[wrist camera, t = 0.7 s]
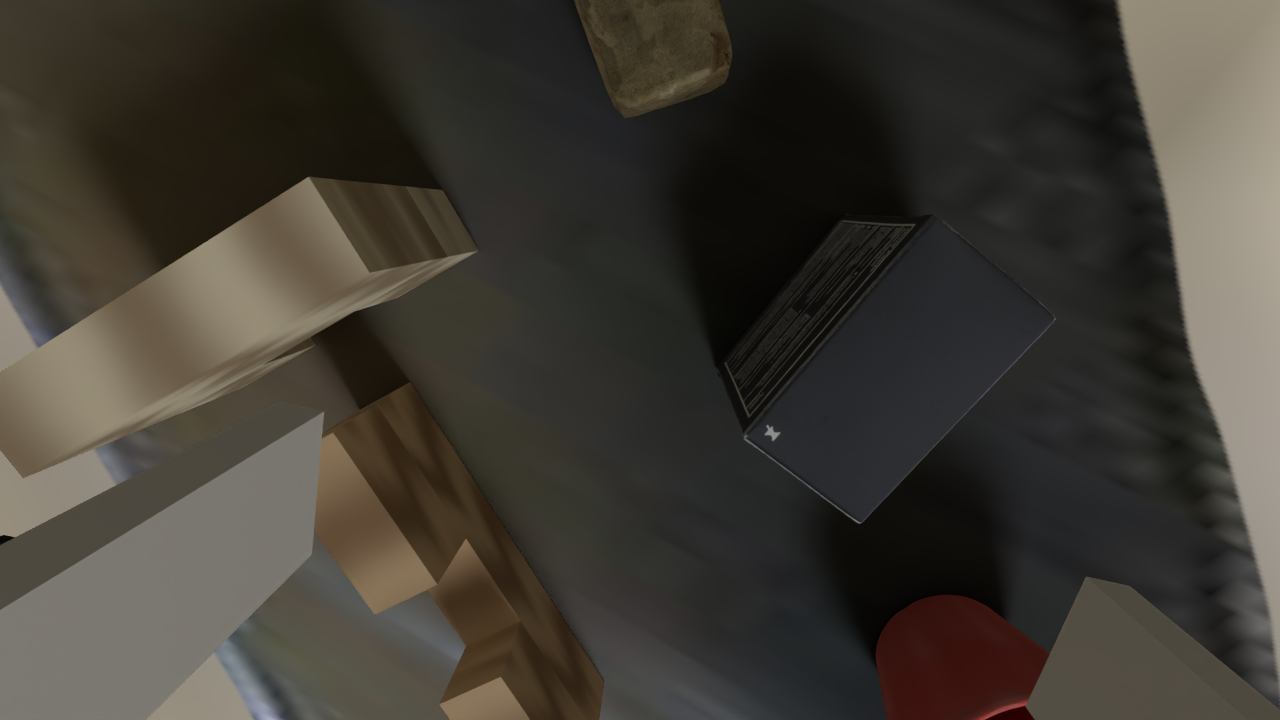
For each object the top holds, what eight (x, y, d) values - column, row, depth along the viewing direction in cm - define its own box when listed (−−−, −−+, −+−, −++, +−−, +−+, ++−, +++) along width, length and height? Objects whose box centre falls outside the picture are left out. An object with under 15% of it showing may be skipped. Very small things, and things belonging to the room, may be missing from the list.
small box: (804, 438, 34) (863, 536, 23) (711, 368, 33) (731, 438, 23) (939, 286, 31) (1070, 322, 21) (843, 208, 31) (931, 206, 20)
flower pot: (1074, 629, 36) (1220, 780, 26) (949, 753, 38) (1042, 931, 29) (932, 535, 35) (1031, 656, 25) (813, 668, 37) (862, 823, 28)
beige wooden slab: (242, 387, 34) (23, 478, 23) (204, 334, 34) (-42, 398, 22) (478, 250, 32) (369, 272, 20) (442, 190, 31) (308, 176, 20)
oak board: (359, 409, 34) (268, 467, 27) (410, 381, 34) (333, 432, 26) (556, 702, 38) (527, 827, 31) (604, 682, 38) (587, 803, 30)
